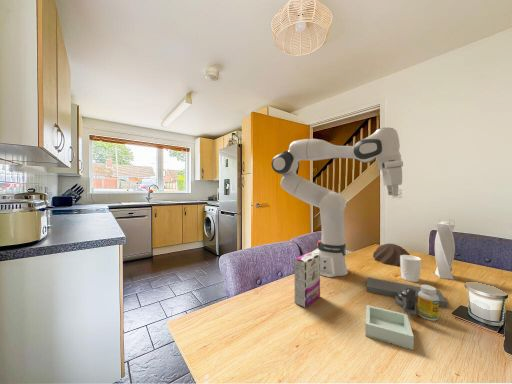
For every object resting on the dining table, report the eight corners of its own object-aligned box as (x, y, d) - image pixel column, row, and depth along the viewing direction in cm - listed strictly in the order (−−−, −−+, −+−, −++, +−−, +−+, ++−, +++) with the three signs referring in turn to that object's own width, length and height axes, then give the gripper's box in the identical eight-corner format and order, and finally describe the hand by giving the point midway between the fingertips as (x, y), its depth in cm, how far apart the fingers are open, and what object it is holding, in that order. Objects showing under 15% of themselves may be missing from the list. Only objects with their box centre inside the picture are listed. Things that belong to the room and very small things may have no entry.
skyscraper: (460, 282, 96) (462, 220, 95) (438, 279, 98) (440, 219, 98) (450, 275, 104) (451, 217, 103) (430, 272, 106) (431, 216, 106)
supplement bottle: (421, 309, 73) (421, 282, 73) (441, 317, 69) (441, 288, 69) (414, 314, 70) (415, 286, 70) (434, 323, 66) (435, 292, 66)
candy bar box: (308, 292, 85) (309, 251, 85) (320, 296, 82) (320, 254, 82) (293, 303, 77) (293, 258, 77) (305, 308, 74) (306, 261, 73)
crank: (396, 294, 80) (397, 274, 80) (413, 297, 78) (413, 276, 78) (401, 313, 68) (402, 289, 68) (421, 317, 66) (421, 293, 66)
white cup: (402, 280, 96) (402, 258, 96) (397, 274, 104) (398, 253, 103) (423, 284, 93) (423, 261, 93) (417, 277, 101) (417, 256, 100)
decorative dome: (391, 268, 112) (392, 249, 112) (365, 256, 131) (365, 240, 131) (422, 265, 116) (422, 247, 116) (392, 254, 135) (392, 238, 135)
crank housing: (366, 299, 80) (366, 293, 80) (366, 281, 95) (367, 277, 95) (454, 318, 68) (454, 312, 68) (438, 295, 83) (439, 289, 83)
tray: (365, 335, 60) (365, 323, 60) (366, 315, 70) (366, 304, 70) (413, 349, 55) (413, 336, 55) (406, 325, 65) (407, 314, 65)
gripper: (378, 167, 105) (381, 195, 105) (385, 163, 86) (389, 197, 86) (392, 165, 103) (396, 194, 102) (404, 161, 84) (407, 196, 84)
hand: (393, 195), depth 94 cm, fingers open, 8 cm apart
